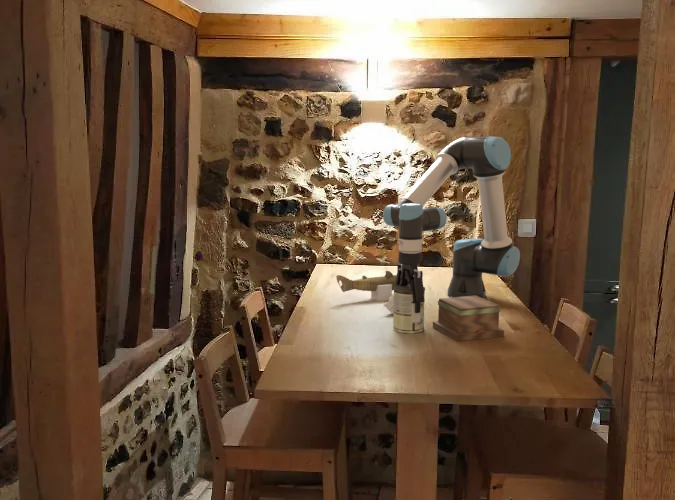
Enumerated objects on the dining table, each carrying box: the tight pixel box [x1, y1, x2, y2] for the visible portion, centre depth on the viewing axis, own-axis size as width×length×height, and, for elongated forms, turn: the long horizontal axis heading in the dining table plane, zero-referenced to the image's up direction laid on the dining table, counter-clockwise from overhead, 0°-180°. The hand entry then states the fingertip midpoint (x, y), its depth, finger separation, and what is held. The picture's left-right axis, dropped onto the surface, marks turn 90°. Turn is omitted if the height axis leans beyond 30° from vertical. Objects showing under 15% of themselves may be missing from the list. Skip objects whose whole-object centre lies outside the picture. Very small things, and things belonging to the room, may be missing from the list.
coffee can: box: [392, 284, 426, 334], centre depth 206 cm, size 10×10×14 cm
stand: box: [432, 295, 505, 342], centre depth 204 cm, size 17×16×10 cm
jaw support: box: [383, 292, 394, 315], centre depth 229 cm, size 12×9×10 cm
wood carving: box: [335, 270, 409, 302], centre depth 247 cm, size 9×35×11 cm, turn 114°
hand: (408, 317), depth 207 cm, fingers closed on coffee can, 10 cm apart
